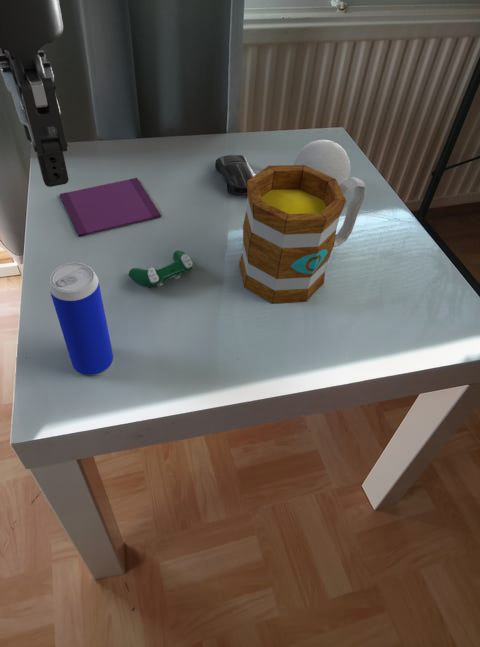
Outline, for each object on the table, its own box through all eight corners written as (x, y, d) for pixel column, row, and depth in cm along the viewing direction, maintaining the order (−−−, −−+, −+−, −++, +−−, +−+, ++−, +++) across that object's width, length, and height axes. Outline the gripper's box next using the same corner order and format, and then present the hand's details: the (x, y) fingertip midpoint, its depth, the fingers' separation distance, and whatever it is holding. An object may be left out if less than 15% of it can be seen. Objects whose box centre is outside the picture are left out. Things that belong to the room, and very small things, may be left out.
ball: (285, 203, 91) (293, 152, 83) (294, 174, 97) (302, 124, 90) (340, 214, 89) (353, 164, 82) (345, 184, 96) (358, 135, 88)
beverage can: (101, 339, 67) (82, 254, 56) (121, 364, 65) (106, 280, 54) (65, 358, 65) (38, 273, 54) (84, 384, 62) (60, 301, 51)
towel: (78, 236, 81) (78, 234, 80) (59, 195, 87) (59, 193, 87) (161, 216, 85) (161, 214, 85) (137, 179, 92) (136, 177, 92)
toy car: (241, 162, 99) (242, 143, 96) (262, 197, 91) (264, 178, 88) (212, 165, 97) (213, 147, 94) (232, 201, 90) (233, 183, 87)
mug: (268, 317, 72) (282, 234, 61) (221, 260, 79) (226, 176, 68) (372, 274, 80) (401, 194, 68) (321, 226, 87) (340, 146, 76)
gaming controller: (135, 294, 76) (147, 292, 70) (125, 271, 75) (136, 266, 70) (187, 272, 80) (203, 268, 74) (178, 249, 79) (193, 244, 74)
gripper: (-63, -58, 41) (-4, 131, 53) (-44, 0, 32) (20, 209, 45) (33, -61, 43) (68, 121, 55) (74, -7, 35) (104, 192, 47)
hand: (47, 160), depth 50 cm, fingers open, 8 cm apart
